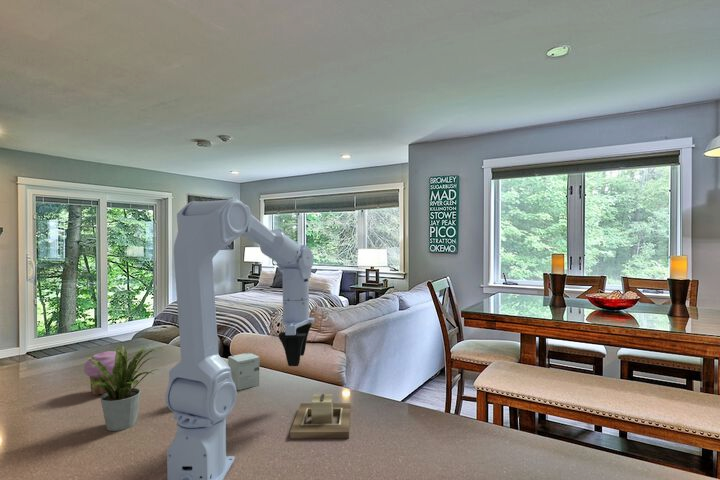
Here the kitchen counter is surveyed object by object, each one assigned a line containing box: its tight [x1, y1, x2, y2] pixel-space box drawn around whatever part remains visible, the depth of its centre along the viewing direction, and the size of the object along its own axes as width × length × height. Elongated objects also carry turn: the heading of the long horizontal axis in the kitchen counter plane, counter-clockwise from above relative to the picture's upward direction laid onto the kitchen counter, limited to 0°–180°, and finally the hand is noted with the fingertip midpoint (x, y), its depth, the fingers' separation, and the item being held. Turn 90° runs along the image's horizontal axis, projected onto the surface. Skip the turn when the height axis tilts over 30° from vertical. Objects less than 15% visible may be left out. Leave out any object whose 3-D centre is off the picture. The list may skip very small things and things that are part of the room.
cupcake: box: [83, 350, 116, 396], centre depth 99 cm, size 9×9×10 cm
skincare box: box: [227, 352, 260, 391], centre depth 103 cm, size 6×6×7 cm
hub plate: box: [289, 402, 352, 439], centre depth 81 cm, size 13×11×1 cm
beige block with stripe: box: [310, 393, 334, 424], centre depth 81 cm, size 4×4×5 cm
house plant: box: [84, 343, 163, 432], centre depth 81 cm, size 14×14×16 cm
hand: (296, 360), depth 89 cm, fingers open, 7 cm apart
